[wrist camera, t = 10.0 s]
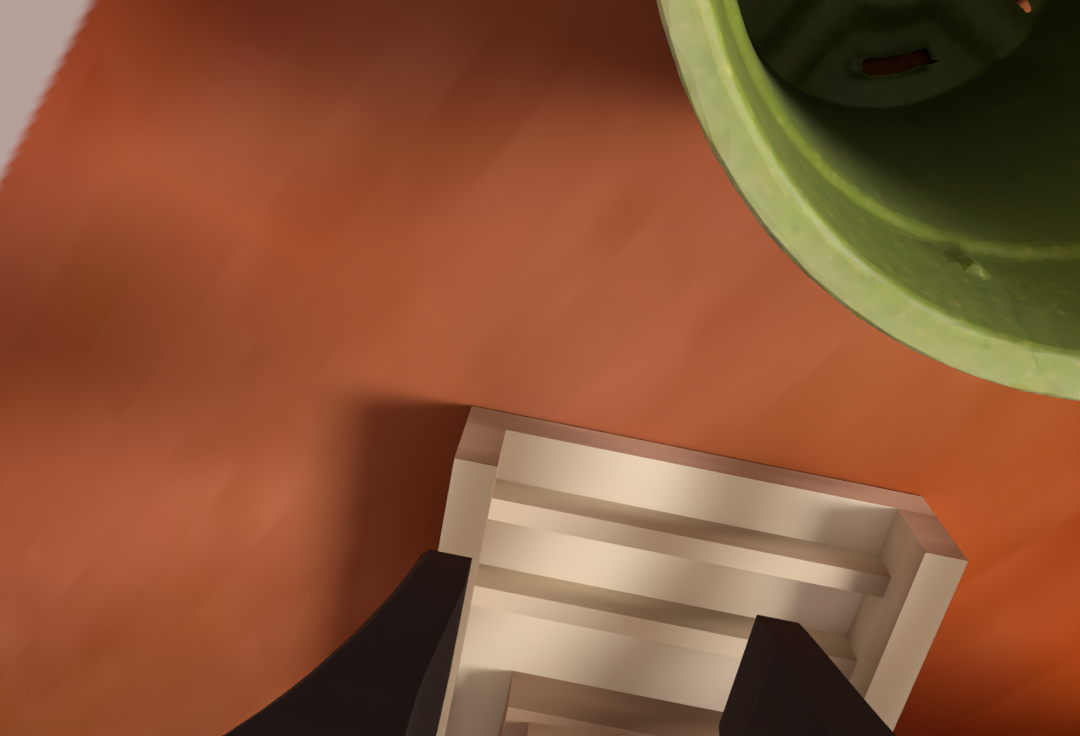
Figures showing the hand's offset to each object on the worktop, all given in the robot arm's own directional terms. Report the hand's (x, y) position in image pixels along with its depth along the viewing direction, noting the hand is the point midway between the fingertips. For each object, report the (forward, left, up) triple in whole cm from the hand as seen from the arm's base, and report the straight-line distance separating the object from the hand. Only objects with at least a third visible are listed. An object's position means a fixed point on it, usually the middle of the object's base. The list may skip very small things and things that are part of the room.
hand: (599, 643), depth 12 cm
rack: (-3, +10, -10) cm, 14 cm away
